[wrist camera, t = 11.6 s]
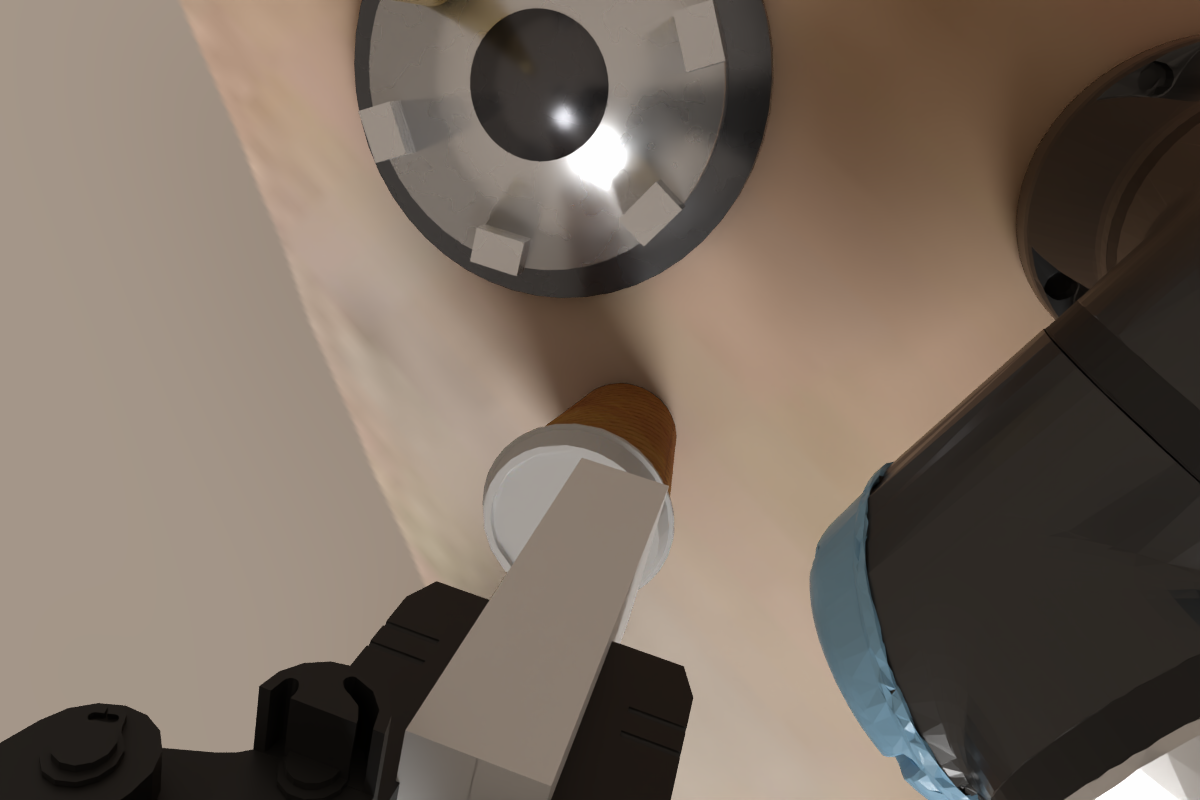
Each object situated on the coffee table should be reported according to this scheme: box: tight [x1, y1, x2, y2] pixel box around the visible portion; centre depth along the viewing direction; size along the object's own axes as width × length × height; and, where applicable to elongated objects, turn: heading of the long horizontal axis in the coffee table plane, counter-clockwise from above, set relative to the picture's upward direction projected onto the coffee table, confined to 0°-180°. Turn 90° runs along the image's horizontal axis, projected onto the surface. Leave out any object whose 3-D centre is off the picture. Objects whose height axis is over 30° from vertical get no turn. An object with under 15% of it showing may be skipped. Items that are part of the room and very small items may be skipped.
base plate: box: [354, 0, 773, 298], centre depth 45 cm, size 22×22×2 cm
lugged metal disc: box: [359, 0, 729, 276], centre depth 39 cm, size 18×18×12 cm
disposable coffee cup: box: [483, 383, 676, 590], centre depth 47 cm, size 10×10×12 cm
